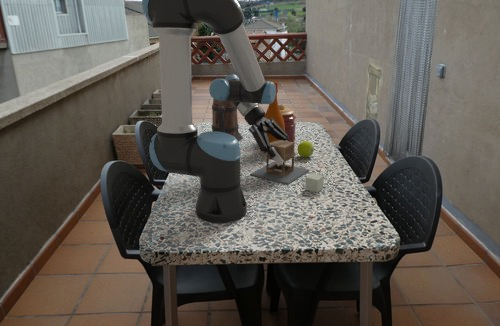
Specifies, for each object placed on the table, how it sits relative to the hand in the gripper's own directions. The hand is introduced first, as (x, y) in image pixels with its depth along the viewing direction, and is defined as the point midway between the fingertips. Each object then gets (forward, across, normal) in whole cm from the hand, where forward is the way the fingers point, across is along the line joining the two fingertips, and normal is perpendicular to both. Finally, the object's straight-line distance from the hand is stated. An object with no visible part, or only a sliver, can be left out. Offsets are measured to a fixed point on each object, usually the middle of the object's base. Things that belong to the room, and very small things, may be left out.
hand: (288, 159), depth 143 cm
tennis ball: (+2, -22, -7) cm, 23 cm away
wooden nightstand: (+2, 0, -6) cm, 6 cm away
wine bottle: (-9, -21, -18) cm, 29 cm away
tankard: (-29, -23, -38) cm, 53 cm away
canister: (-12, -35, -21) cm, 43 cm away
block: (+14, +6, +6) cm, 16 cm away
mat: (+2, 0, -6) cm, 7 cm away
